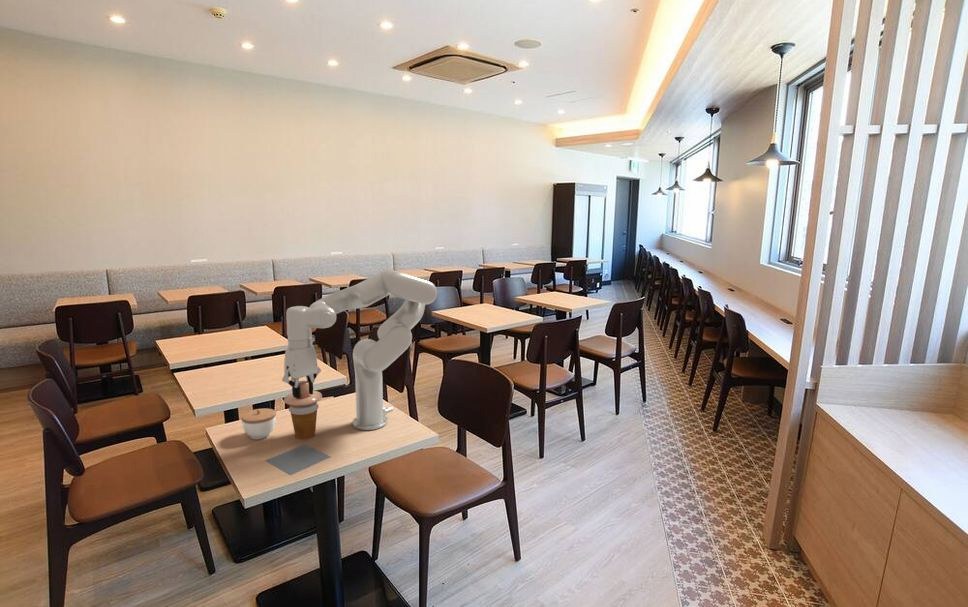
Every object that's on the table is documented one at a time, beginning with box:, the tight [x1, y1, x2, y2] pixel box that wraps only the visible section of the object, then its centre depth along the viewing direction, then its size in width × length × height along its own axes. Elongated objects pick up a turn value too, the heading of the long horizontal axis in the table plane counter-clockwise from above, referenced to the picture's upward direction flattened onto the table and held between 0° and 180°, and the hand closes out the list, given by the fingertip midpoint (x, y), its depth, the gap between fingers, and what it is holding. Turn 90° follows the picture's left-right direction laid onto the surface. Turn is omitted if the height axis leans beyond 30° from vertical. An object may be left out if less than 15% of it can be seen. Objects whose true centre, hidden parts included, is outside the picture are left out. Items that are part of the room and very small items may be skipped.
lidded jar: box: [240, 407, 277, 440], centre depth 168 cm, size 11×11×9 cm
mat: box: [264, 443, 331, 476], centre depth 152 cm, size 14×14×1 cm
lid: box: [284, 380, 323, 406], centre depth 166 cm, size 12×12×6 cm
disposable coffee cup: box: [288, 402, 319, 440], centre depth 168 cm, size 10×10×12 cm
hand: (303, 395), depth 166 cm, fingers open, 4 cm apart
